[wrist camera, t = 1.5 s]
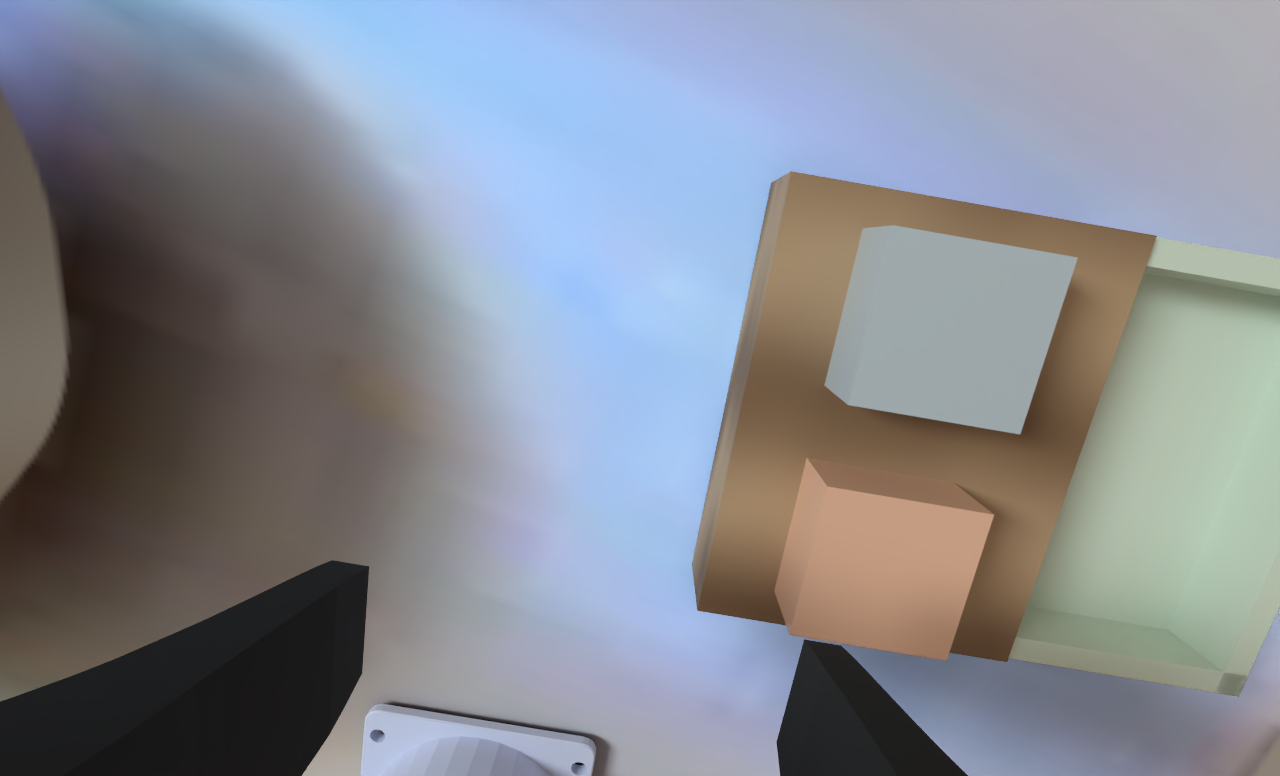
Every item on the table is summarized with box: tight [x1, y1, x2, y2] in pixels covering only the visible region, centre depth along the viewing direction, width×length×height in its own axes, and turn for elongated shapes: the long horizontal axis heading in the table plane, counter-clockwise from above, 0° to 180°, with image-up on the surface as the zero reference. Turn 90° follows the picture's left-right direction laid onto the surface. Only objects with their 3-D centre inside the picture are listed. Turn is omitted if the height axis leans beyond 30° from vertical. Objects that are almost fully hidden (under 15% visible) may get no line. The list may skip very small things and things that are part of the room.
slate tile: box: [824, 225, 1078, 434], centre depth 14 cm, size 4×4×2 cm
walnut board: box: [692, 172, 1157, 662], centre depth 17 cm, size 12×9×3 cm
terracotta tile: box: [774, 458, 994, 661], centre depth 16 cm, size 4×4×2 cm
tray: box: [1009, 237, 1280, 697], centre depth 18 cm, size 12×7×2 cm, turn 170°
